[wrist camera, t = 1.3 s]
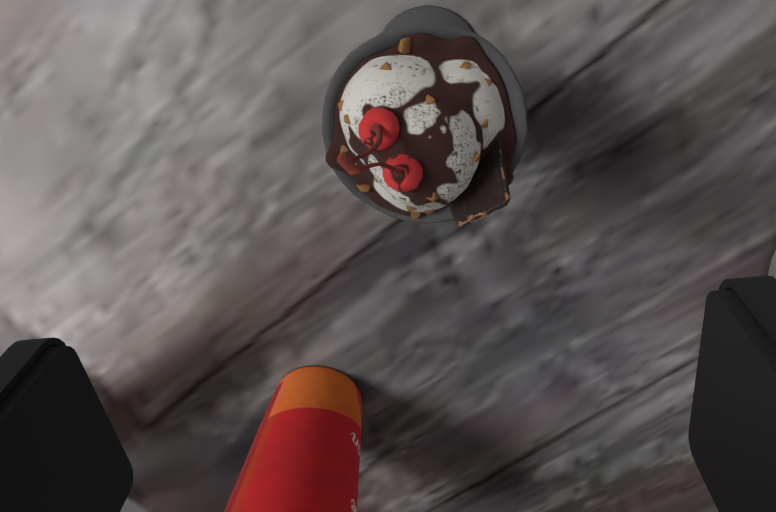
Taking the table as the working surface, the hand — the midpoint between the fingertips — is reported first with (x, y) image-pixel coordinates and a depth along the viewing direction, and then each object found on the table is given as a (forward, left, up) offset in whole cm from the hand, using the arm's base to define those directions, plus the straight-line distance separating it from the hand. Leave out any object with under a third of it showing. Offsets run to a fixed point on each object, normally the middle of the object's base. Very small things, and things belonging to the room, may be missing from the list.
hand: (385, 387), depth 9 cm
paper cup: (+9, +20, -23) cm, 32 cm away
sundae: (0, 0, -23) cm, 23 cm away
